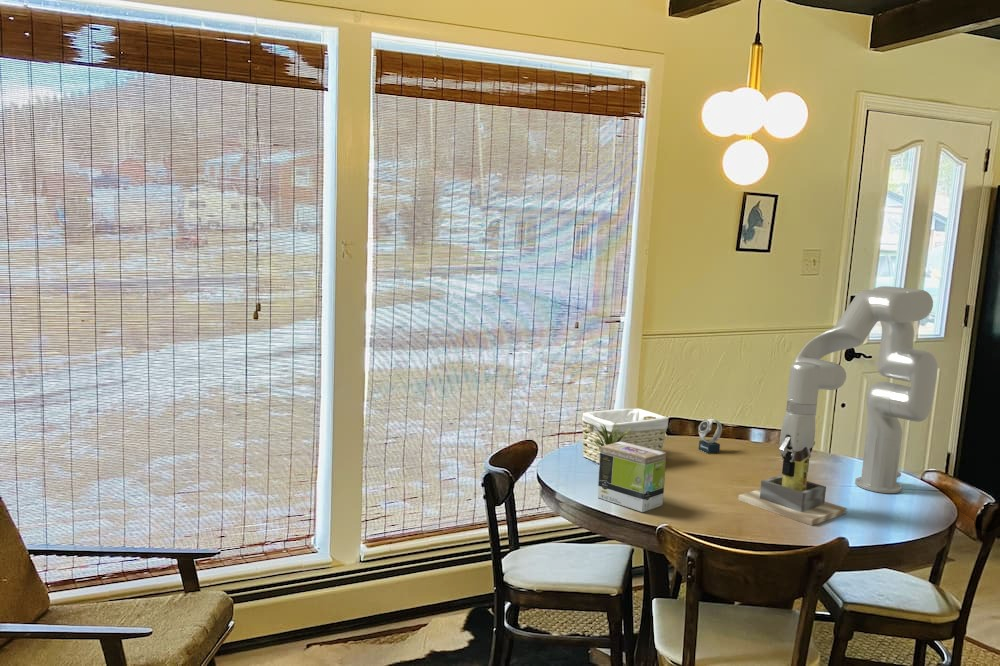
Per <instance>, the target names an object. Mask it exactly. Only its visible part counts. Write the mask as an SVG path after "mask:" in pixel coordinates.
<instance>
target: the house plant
mask: <svg viewBox="0 0 1000 666" xmlns="http://www.w3.org/2000/svg"><path fill="white" fill-rule="evenodd" d="M588 424H589V423H588ZM591 425H592V424H591ZM600 425H601V424H600ZM614 425H615V424H614ZM593 426H594V425H593ZM603 426H604V427H603ZM603 426H602V425H601V428H602V430H603V433H604V434H603V433H602V432H601V431H599V430H598V429H597V431H599V433H600V434H602V435H601V436H603V437H602V438H603V440H604V442H606V443H605V444H606V445H608V444H613V443H615V441H616V437H617V434H618V426H617V428H616V431H615V432H614V433H615V435H614V433H613V429H612V433H613V435H614V438H613V435H612V433H611V435H610V436H609V438H608V435H607V430H606V427H605V425H604V424H603ZM595 427H596V426H595ZM596 428H597V427H596ZM604 428H605V429H604ZM613 428H614V426H613ZM619 428H620V427H619ZM631 429H633V428H630V429H628V430H626V431H625V432H624V433H623V434H622V435H621V436H620V437H619V438H618V440H617V442H620V440H621V439H622V438H623V437H624V436H625V435H626V434H628V433H627V432H628V431H629V430H631ZM596 434H597V433H596ZM597 435H598V434H597ZM598 436H599V435H598ZM599 438H600V440H601V442H602V443H601V442H600V441H598V440H594V441H593V442H596V443H599V444H597V445H598V446H599V450H600V449H601V446H604V443H603V441H602V439H601V437H600V436H599ZM617 442H616V443H617ZM626 443H629V442H626ZM600 445H601V446H600ZM598 464H599V465H600V453H599V463H598Z"/></svg>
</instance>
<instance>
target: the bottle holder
mask: <svg viewBox="0 0 1000 666" xmlns="http://www.w3.org/2000/svg"><path fill="white" fill-rule="evenodd" d="M782 476H783V474H781V475H777V476H775V477H773V476H772V477H770V478H767V479H763V480H761V482H760V489H759V488H758V489H756V490H755V489H754V490H753V491H748V492H745V493H741V494H738V499H737V500H738V501H739V502H741V503H745V504H747V503H748V505H751V506H753V507H757V508H760V509H762V510H765V511H768V512H771V513H774V514H778V515H780V516H783V517H785V518H788V519H792V520H794V521H797V522H800V523H803V524H806V525H809V526H811V527H812V526H815V525H817V524H820V523H823V522H826V521H829V520H832V519H835V518H837V517H841V516H843V515H846V514H845V513H847V507H844V506H841V505H839V504H835V503H832V502H829V501H827V500H826V490H827V486H825V485H821V484H818V483H815V482H811V481H808V480H807V483H806V490H805V491H802V492H801V491H797V490H794V489H791V488H788V487H785V486H782Z"/></svg>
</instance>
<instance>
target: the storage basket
mask: <svg viewBox="0 0 1000 666" xmlns="http://www.w3.org/2000/svg"><path fill="white" fill-rule="evenodd" d="M581 421H582V422H581V426H582V456H583V457H584V458H586V459H588V460H590V461H593V462H595V463H597V464H599V453H600V450H601V449H600V450H599V446H598V445H597V444H599V443H596V442H593V441H594V440H598V441H600V442H601V440H600V438H599V436H600V437H601V439H602V441H603V443H604V445H606V444H605V443H606V442H604V440H603V438H602V437H603V436H601V435H602V434H600V433H599V431H601V432H602V433H603V430H602V428H601V425H602V426H603V424H604V425H605V427H606V430H607V435H608V438H609V436H610V435H611V433H612V429H613V433H614V432H615V431H616V428H617V426H618V434H617V437H616V441H615V443H616V442H617V440H618V438H619V437H620V436H621V435H622V434H623V433H624V432H625V431H626V430H628V429H630V428H633V429H631V430H629V431H628V432H627V433H628V434H626V435H625V436H624V437H623V438H622V439H621V440H620V442H621V441H622V442H629V443H630V444H634V445H639V446H642V447H646V448H650V449H654V450H658V451H663V448H664V443H665V439H666V432H667V431H668V430H667V429H668V428H669V427H668V426H669V425H668V424H669V418H668V416H663V415H661V414H658V413H656V412H651V411H648V410H646V409H645V410H644V409H643V408H639V407H638V408H619V409H617V408H616V409H607V410H596V411H595V410H593V411H588V412H587V411H586V412H583V414H582V418H581ZM588 423H589V424H588ZM591 424H592V425H591ZM600 424H601V425H600ZM614 424H615V425H614ZM593 425H594V426H593ZM595 426H596V427H597V428H596V427H595ZM613 426H614V428H613ZM603 427H604V426H603ZM619 427H620V428H619ZM597 429H598V430H599V431H597ZM604 429H605V428H604ZM596 433H597V434H598V435H599V436H598V435H597V434H596ZM613 433H612V435H613ZM603 434H604V433H603ZM614 435H615V433H614ZM614 435H613V438H614ZM601 443H602V442H601ZM600 446H601V445H600Z"/></svg>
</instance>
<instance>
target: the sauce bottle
mask: <svg viewBox="0 0 1000 666" xmlns="http://www.w3.org/2000/svg"><path fill="white" fill-rule="evenodd" d="M789 449H790V450H792V448H790V447H789ZM788 453H789V454H790V456H791V454H792V453H791V452H788ZM808 460H809V461H810V458H809V453H808V450H807V447H805V448H804V449H803V450H802V451H798V452H796V455H795V458H794V461H793V462H795V469H794V476H793V477H790V476H787V475H783V474H782V475H783V476H782V486H785V487H788V488H791V489H794V490H797V491H801V492H802V491H805V490H806V483H807V481H808V472H809V467H808Z"/></svg>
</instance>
